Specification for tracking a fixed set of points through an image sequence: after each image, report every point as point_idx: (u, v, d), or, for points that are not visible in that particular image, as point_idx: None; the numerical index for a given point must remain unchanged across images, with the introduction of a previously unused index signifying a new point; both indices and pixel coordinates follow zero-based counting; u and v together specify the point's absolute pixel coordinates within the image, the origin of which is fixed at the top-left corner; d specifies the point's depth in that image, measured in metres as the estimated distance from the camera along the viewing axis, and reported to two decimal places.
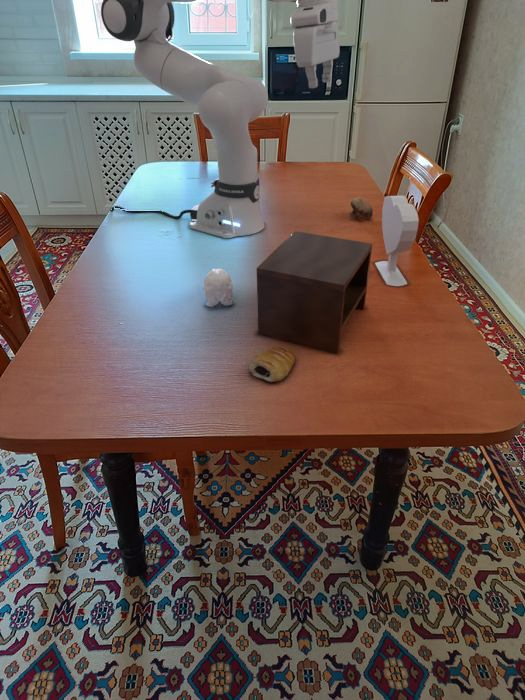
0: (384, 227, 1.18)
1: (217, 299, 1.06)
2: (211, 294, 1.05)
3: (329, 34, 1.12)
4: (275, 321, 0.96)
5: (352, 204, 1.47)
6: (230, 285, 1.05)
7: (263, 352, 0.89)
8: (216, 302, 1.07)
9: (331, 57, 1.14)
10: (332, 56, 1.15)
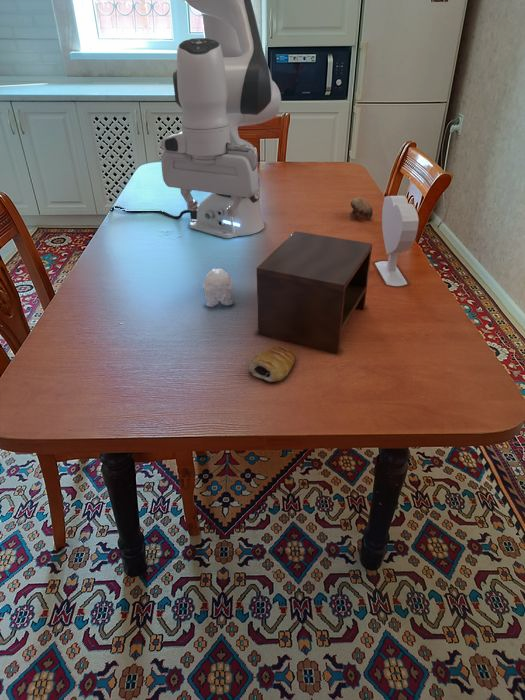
0: (384, 227, 1.18)
1: (217, 299, 1.06)
2: (211, 294, 1.05)
3: (218, 167, 0.92)
4: (275, 321, 0.96)
5: (352, 204, 1.47)
6: (230, 285, 1.05)
7: (263, 352, 0.89)
8: (216, 302, 1.07)
9: (221, 192, 0.94)
10: (224, 191, 0.94)
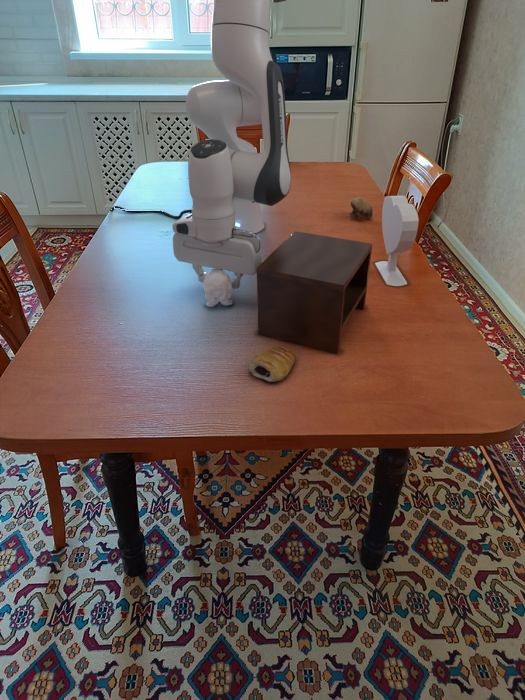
0: (384, 227, 1.18)
1: (217, 299, 1.06)
2: (211, 294, 1.05)
3: (225, 248, 1.02)
4: (275, 321, 0.96)
5: (352, 204, 1.47)
6: (230, 285, 1.05)
7: (263, 352, 0.89)
8: (216, 302, 1.07)
9: (227, 269, 1.04)
10: (230, 269, 1.04)
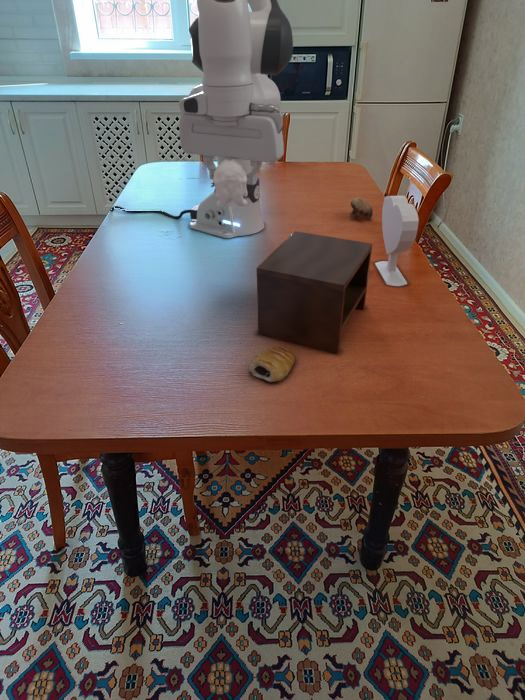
0: (384, 227, 1.18)
1: (229, 195, 0.90)
2: (222, 188, 0.89)
3: (241, 129, 0.86)
4: (275, 321, 0.96)
5: (352, 204, 1.47)
6: (244, 177, 0.89)
7: (263, 352, 0.89)
8: (228, 199, 0.91)
9: (243, 157, 0.88)
10: (246, 156, 0.88)
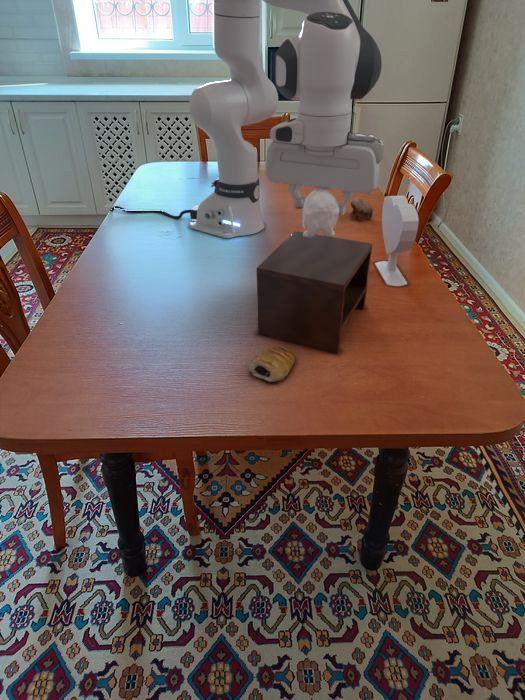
0: (384, 227, 1.18)
1: (319, 227, 0.86)
2: (313, 219, 0.85)
3: (336, 159, 0.82)
4: (275, 321, 0.96)
5: (352, 204, 1.47)
6: (337, 208, 0.84)
7: (263, 352, 0.89)
8: (317, 231, 0.87)
9: (336, 187, 0.84)
10: (339, 187, 0.84)
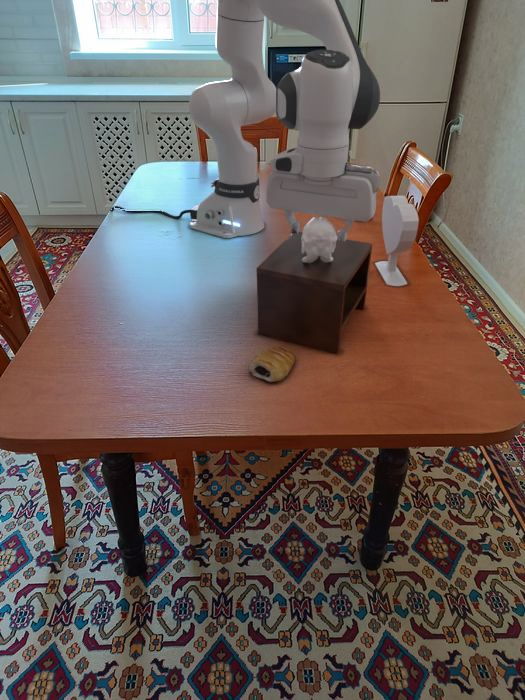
0: (384, 227, 1.18)
1: (317, 253, 0.89)
2: (311, 246, 0.88)
3: (334, 188, 0.85)
4: (275, 321, 0.96)
5: None
6: (335, 236, 0.87)
7: (263, 352, 0.89)
8: (315, 257, 0.90)
9: (334, 215, 0.87)
10: (337, 215, 0.87)
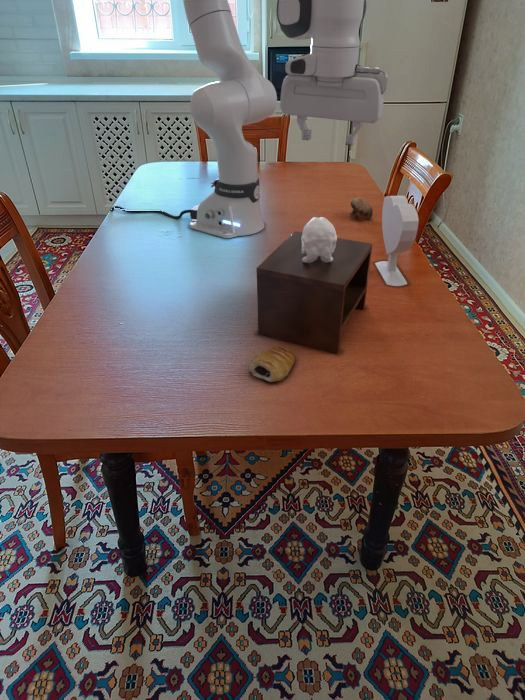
0: (384, 227, 1.18)
1: (317, 253, 0.89)
2: (311, 246, 0.88)
3: (345, 90, 0.91)
4: (275, 321, 0.96)
5: (352, 204, 1.47)
6: (335, 236, 0.87)
7: (263, 352, 0.89)
8: (315, 257, 0.90)
9: (343, 117, 0.93)
10: (347, 117, 0.93)
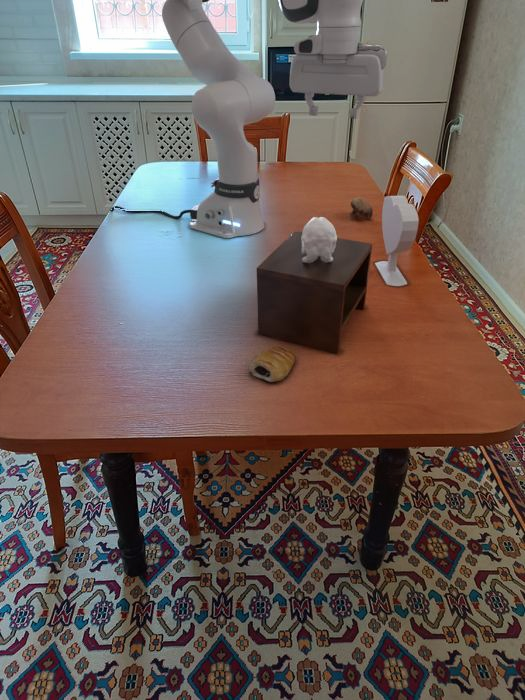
0: (384, 227, 1.18)
1: (317, 253, 0.89)
2: (311, 246, 0.88)
3: (348, 67, 1.00)
4: (275, 321, 0.96)
5: (352, 204, 1.47)
6: (335, 236, 0.87)
7: (263, 352, 0.89)
8: (315, 257, 0.90)
9: (348, 92, 1.03)
10: (351, 91, 1.03)
